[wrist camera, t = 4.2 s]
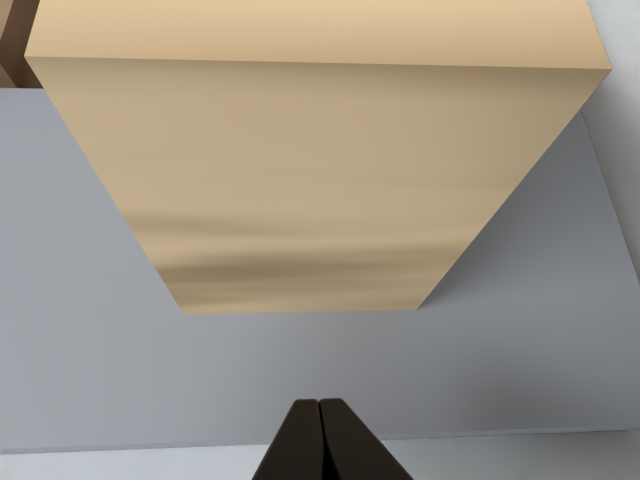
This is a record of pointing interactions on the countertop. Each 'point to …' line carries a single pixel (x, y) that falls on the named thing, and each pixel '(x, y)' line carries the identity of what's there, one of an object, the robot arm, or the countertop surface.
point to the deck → (305, 321)
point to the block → (312, 133)
